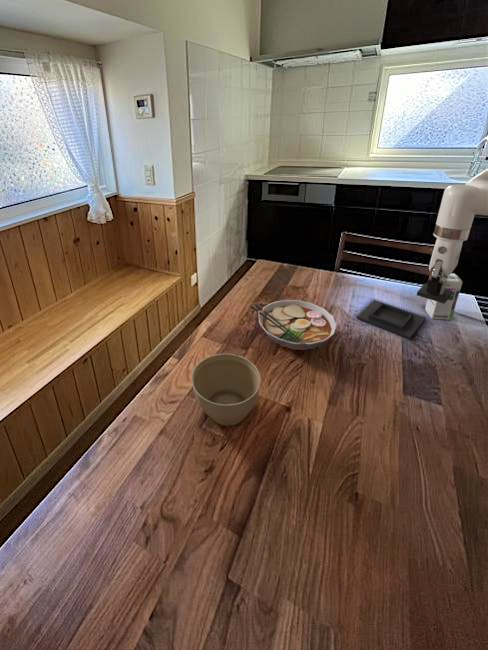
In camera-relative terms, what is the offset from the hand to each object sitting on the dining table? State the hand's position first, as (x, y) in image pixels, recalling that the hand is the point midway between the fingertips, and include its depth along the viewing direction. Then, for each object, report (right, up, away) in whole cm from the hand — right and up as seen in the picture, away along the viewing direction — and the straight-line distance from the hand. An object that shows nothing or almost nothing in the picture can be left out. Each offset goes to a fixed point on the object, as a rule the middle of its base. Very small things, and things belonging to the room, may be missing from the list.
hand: (435, 289), depth 98 cm
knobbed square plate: (0, -2, +1) cm, 2 cm away
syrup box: (+11, -10, +14) cm, 20 cm away
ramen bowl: (-39, -17, +8) cm, 43 cm away
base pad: (-5, -11, +13) cm, 18 cm away
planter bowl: (-63, -29, -15) cm, 71 cm away
